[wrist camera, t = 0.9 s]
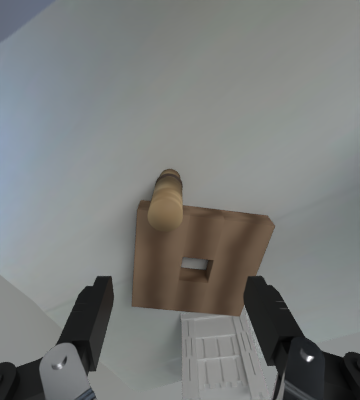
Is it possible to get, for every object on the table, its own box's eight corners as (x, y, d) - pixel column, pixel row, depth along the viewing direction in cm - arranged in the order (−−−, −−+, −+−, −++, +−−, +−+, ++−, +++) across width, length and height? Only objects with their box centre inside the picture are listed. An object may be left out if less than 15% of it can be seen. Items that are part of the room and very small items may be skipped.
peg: (183, 168, 30) (185, 203, 20) (180, 191, 32) (180, 234, 22) (158, 165, 30) (148, 198, 20) (156, 188, 32) (145, 229, 22)
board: (267, 215, 34) (275, 226, 31) (236, 302, 42) (239, 316, 40) (140, 200, 33) (137, 209, 30) (134, 292, 41) (131, 306, 38)
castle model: (244, 306, 43) (271, 396, 30) (246, 350, 49) (270, 440, 36) (180, 313, 44) (180, 404, 31) (191, 355, 50) (195, 445, 37)
